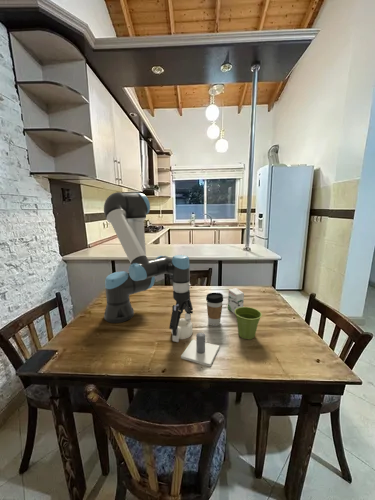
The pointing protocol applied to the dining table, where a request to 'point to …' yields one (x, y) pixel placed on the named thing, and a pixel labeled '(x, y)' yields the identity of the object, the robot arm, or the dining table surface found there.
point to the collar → (184, 328)
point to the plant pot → (247, 321)
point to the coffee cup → (214, 308)
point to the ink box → (235, 299)
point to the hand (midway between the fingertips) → (182, 333)
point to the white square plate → (200, 351)
